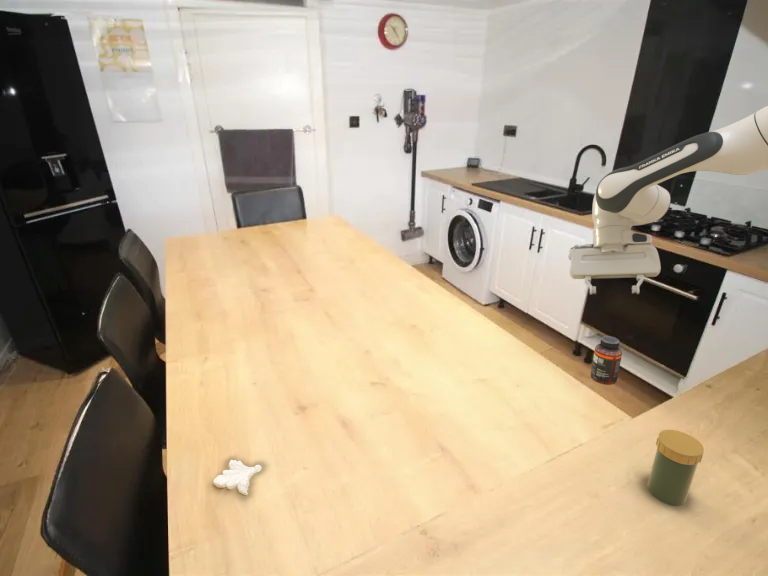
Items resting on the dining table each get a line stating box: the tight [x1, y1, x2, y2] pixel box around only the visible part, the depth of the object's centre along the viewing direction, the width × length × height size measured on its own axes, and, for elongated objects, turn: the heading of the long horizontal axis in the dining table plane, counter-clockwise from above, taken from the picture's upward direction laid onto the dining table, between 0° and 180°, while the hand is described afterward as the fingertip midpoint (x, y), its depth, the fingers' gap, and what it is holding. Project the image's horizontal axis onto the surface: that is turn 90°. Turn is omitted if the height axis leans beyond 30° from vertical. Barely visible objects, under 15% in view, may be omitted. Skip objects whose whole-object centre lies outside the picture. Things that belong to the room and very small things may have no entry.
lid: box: [655, 429, 705, 465], centre depth 67 cm, size 6×6×2 cm
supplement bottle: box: [590, 335, 623, 386], centre depth 101 cm, size 6×6×11 cm
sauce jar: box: [646, 447, 699, 507], centre depth 68 cm, size 6×6×11 cm
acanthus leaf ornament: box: [212, 459, 263, 496], centre depth 75 cm, size 8×7×2 cm
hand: (613, 293), depth 103 cm, fingers open, 8 cm apart
